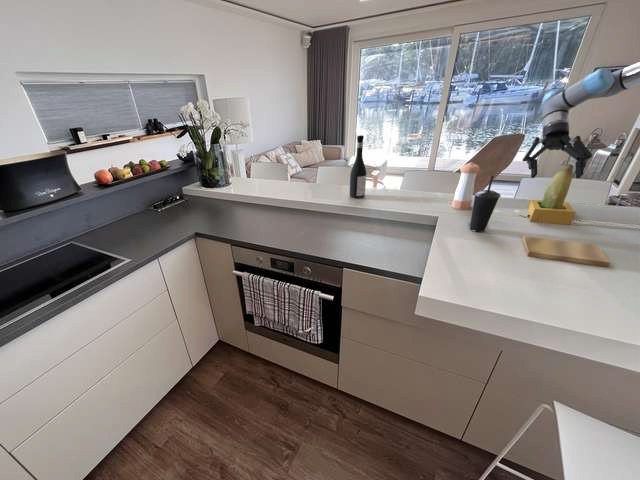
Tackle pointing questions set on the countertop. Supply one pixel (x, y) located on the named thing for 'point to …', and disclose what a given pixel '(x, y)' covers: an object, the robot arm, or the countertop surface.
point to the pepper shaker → (465, 186)
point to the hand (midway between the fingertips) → (556, 176)
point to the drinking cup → (483, 207)
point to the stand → (550, 213)
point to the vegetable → (558, 188)
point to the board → (565, 251)
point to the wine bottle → (358, 173)
